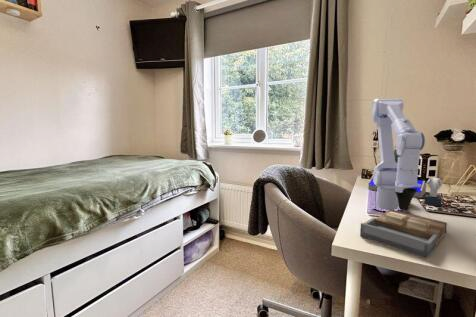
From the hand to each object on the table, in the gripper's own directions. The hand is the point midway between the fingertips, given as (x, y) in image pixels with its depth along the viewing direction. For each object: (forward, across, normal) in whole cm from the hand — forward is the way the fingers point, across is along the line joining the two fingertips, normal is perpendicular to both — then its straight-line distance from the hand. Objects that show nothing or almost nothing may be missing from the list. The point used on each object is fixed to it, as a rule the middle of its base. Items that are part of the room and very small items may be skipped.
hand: (403, 209), depth 85 cm
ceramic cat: (+5, +80, +26) cm, 84 cm away
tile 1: (+2, -7, 0) cm, 7 cm away
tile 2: (+2, -7, -6) cm, 9 cm away
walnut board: (+5, -3, -3) cm, 7 cm away
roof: (+6, +45, +16) cm, 48 cm away
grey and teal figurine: (+5, +34, -1) cm, 34 cm away
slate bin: (+5, -15, -3) cm, 16 cm away
